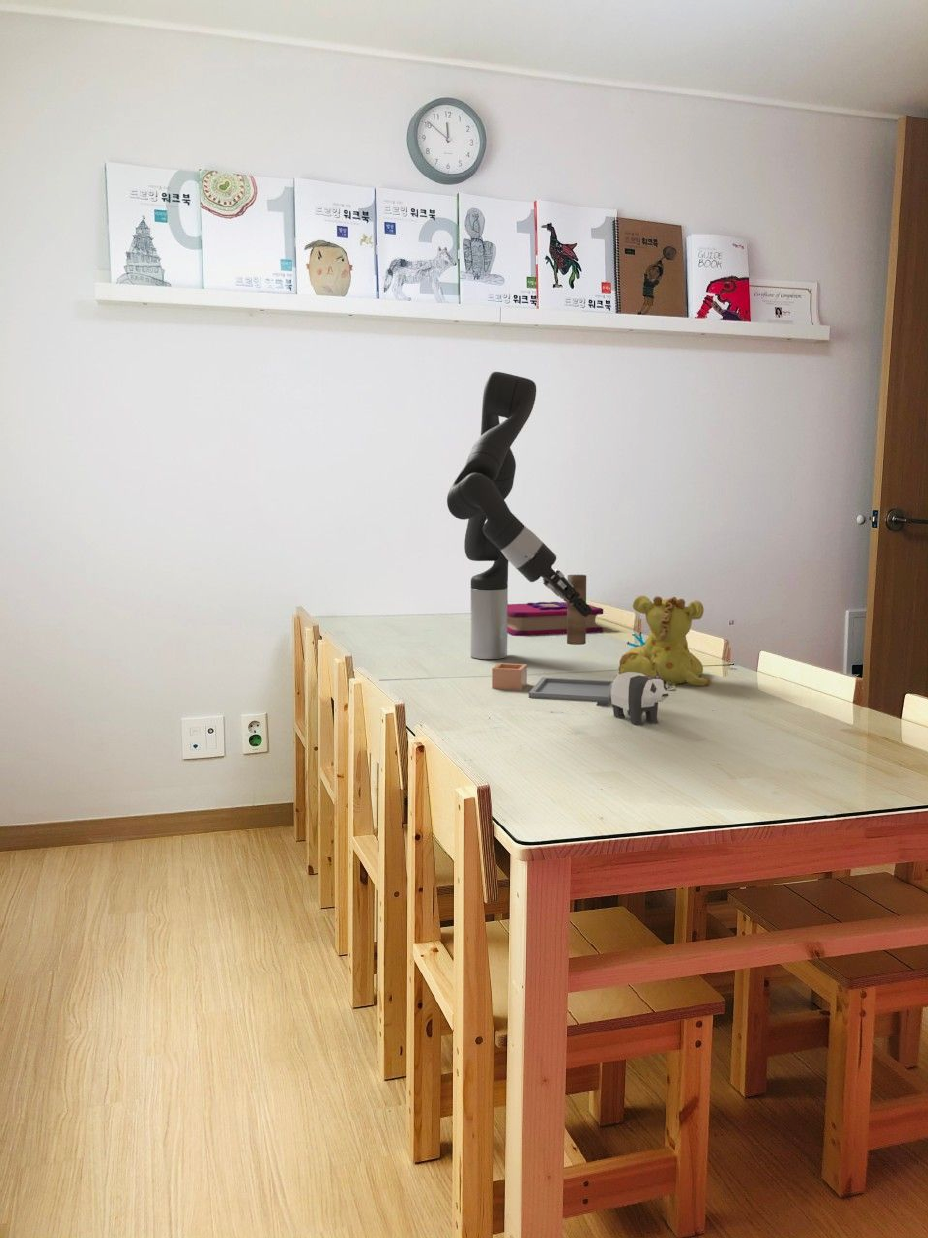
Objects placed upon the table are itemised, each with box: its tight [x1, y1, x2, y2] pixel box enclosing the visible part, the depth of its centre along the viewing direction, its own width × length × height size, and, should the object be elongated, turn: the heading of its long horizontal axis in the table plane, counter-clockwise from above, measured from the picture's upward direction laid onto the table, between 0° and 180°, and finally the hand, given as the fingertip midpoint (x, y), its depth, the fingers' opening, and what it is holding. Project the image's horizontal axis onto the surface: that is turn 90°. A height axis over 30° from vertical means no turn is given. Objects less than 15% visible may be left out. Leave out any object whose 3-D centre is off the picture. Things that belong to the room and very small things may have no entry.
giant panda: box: [610, 672, 669, 726], centre depth 188 cm, size 15×6×10 cm, turn 25°
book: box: [507, 601, 604, 637], centre depth 300 cm, size 21×28×8 cm
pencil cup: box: [491, 662, 528, 691], centre depth 216 cm, size 6×6×5 cm
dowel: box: [566, 574, 587, 646], centre depth 208 cm, size 4×4×14 cm
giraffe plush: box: [618, 595, 712, 691], centre depth 226 cm, size 20×24×19 cm
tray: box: [528, 676, 614, 707], centre depth 211 cm, size 16×16×2 cm
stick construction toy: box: [626, 631, 648, 648], centre depth 252 cm, size 12×7×8 cm
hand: (586, 612), depth 208 cm, fingers closed on dowel, 3 cm apart
